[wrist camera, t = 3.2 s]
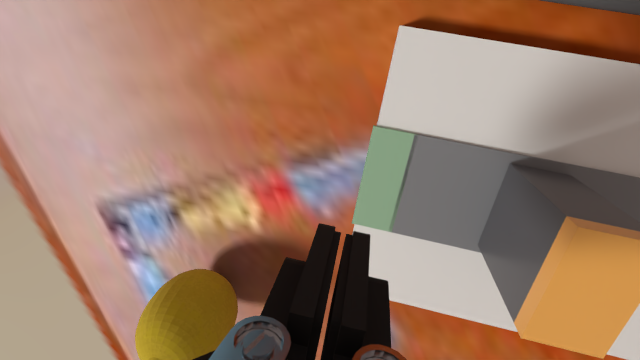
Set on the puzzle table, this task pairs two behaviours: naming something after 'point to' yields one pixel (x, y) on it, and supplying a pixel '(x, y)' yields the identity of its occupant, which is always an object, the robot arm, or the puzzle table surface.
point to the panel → (486, 159)
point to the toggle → (562, 260)
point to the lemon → (187, 317)
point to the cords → (605, 5)
